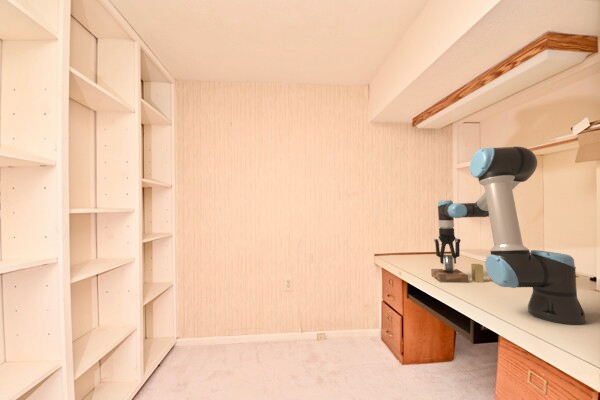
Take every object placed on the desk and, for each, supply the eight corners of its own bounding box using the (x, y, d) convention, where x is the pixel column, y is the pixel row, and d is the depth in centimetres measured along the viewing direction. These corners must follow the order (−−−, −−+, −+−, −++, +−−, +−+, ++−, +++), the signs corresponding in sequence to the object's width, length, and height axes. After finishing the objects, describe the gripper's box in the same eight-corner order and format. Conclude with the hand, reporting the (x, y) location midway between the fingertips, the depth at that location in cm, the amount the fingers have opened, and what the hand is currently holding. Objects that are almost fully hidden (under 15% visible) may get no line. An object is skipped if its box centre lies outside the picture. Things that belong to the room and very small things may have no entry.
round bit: (454, 277, 146) (452, 255, 147) (446, 277, 147) (445, 255, 148) (451, 275, 150) (450, 254, 151) (443, 275, 151) (442, 254, 152)
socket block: (468, 282, 141) (467, 275, 141) (439, 282, 143) (439, 274, 143) (457, 276, 154) (456, 269, 155) (431, 275, 157) (431, 268, 157)
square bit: (483, 282, 140) (482, 265, 141) (475, 282, 141) (474, 265, 141) (480, 280, 144) (479, 263, 145) (472, 280, 145) (471, 263, 145)
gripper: (459, 227, 152) (461, 268, 151) (428, 227, 155) (430, 267, 154) (465, 227, 145) (468, 271, 144) (432, 228, 148) (434, 270, 147)
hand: (448, 269), depth 149 cm, fingers closed on round bit, 4 cm apart
